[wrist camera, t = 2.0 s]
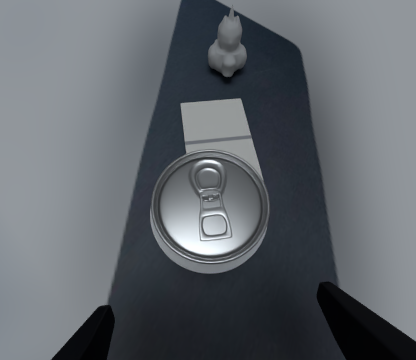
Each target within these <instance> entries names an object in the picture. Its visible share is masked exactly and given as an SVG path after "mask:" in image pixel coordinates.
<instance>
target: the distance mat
mask: <svg viewBox="0 0 416 360" xmlns="http://www.w3.org/2000/svg"><path fill="white" fill-rule="evenodd" d="M181 111H182V119H183V128H184V137H185V146H186V154H187V153H190V152H194V151H198V150H205V149H214V150H221V151H226V152H229V153H232V154H234V155H236V156H238V157H240V158H242V159H244V160H245V161H246V162H248V163H249V164H250V165H251V166H252V167H253V168H254V169H255V170H256V171H257V172H258V174H259V175H260V176H261V178H262V180H263V177H262V174H261V170H260V167H259V163H258V159H257V156H256V152H255V148H254V145H253V141H252V137H251V134H250V130H249V127H248V123H247V119H246V116H245V112H244V109H243V105H242V101H241V98H240V99H228V100H216V101H204V102H191V103H181Z"/></svg>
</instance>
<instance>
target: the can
mask: <svg viewBox="0 0 416 360" xmlns="http://www.w3.org/2000/svg"><path fill="white" fill-rule="evenodd" d="M269 215H270V200H269V195H268V191H267V188H266V186H265V183H264V181H263V180H262V178H261V176H260V175H259V174H258V172H257V171H256V170H255V169H254V168H253V167H252V166H251V165H250V164H249V163H248V162H246V161H245V160H244V159H242V158H240V157H238V156H236V155H234V154H232V153H229V152H226V151H221V150H214V149H205V150H198V151H194V152H190V153H187V154H185V155H183V156H181V157H179V158H178V159H176V160H175V161H173V162H172V163H171V164H170V165H169V166H167V168H166V169H165V170H164V171H163V172H162V174H161V175H160V177H159V178H158V180H157V182H156V184H155V187H154V190H153V193H152V199H151V210H150V219H151V226H152V230H153V233H154V236H155V238H156V240H157V242H158V244H159V246H160V247H161V249H162V250H163V251H164V253H165V254H166V255H167V256H168V257H169V258H170V259H171V260H173V261H174V262H175V263H177V264H178V265H180V266H182V267H184V268H186V269H188V270H191V271H194V272H199V273H208V274H212V273H221V272H225V271H228V270H231V269H233V268H236V267H237V266H239V265H241V264H242V263H244V262H245V261H246V260H248V259H249V258H250V257H251V256H252V255H253V254H254V253H255V252H256V250H257V249H258V247H259V246H260V244H261V242H262V240H263V238H264V236H265V233H266V229H267V224H268V221H269Z"/></svg>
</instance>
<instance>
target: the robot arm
mask: <svg viewBox="0 0 416 360" xmlns="http://www.w3.org/2000/svg"><path fill="white" fill-rule="evenodd" d="M317 300H318V303H319V305H320V307H321V309H322V312H323V314H324V316H325V318H326V320H327V323H328V325H329V327H330V329H331V331H332V334H333V336H334V338H335V340H336V342H337V344H338V346H339V347H340V349H341V351H342V353H343V355H344V356H345V358H346V360H416V341H414V340H413V339H412V338H410V337H409V336H407V335H406V334H404V333H403V332H402V331H400V330H399V329H397V328H396V327H394V326H393V325H391V324H390V323H389V322H387V321H386V320H384V319H383V318H381V317H380V316H378V315H377V314H376V313H374V312H373V311H371V310H370V309H368V308H367V307H366V306H364V305H363V304H361V303H360V302H358V301H357V300H356V299H354V298H353V297H351V296H350V295H348V294H347V293H345V292H344V291H343V290H341V289H340V288H338V287H337V286H335V285H334V284H333V283H331V282H321V283H320V284H319V287H318V291H317ZM114 323H115V318H114V314H113V311H112V308H111V306H110V305H103V306H100V307H98V308H97V309H96V310H95V311H94V313H93V314H92V315H91V316H90V317H89V318H88V319H87V320H86V321H85V323H84V324H83V325H82V326H81V327H80V328H79V329H78V330H77V331H76V332H75V334H74V335H73V336H72V337H71V338H70V339H69V340H68V341H67V343H66V344H65V345H64V346H63V347H62V348H61V349H60V351H59V352H58V353H57V354H56V355H55V356H54V357H53V358H52V360H107V356H108V351H109V347H110V342H111V338H112V333H113V328H114Z"/></svg>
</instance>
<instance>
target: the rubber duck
mask: <svg viewBox="0 0 416 360" xmlns="http://www.w3.org/2000/svg"><path fill="white" fill-rule="evenodd" d="M241 34H242V27H241V24H240V20H239V16H237V17H234V11H233V6H232V8H231V11H230V14H229V17H227V16H225V17H224V19H223V21H222V22H221V23H220V25H219V28H218V39H217V40H215V43H214V44H213V45H212V46H211V47H210V48H209V51H208V59H209V65H210V67H211V68H212V69H215V70H217V71H219V72H221V73H222V74H223V76H225V77H231V76H232V75H233V73H234V71H236V70H237V69H241V68H242V67H243V66H244V64H245V61H246V58H247V55H246V50H245V48H244V46H243V45H241V43H240V39H241Z"/></svg>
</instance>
